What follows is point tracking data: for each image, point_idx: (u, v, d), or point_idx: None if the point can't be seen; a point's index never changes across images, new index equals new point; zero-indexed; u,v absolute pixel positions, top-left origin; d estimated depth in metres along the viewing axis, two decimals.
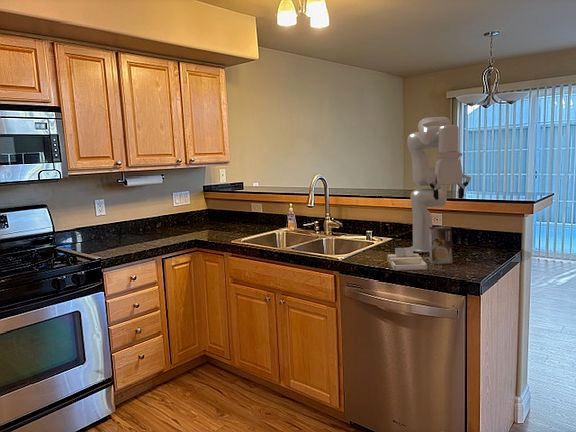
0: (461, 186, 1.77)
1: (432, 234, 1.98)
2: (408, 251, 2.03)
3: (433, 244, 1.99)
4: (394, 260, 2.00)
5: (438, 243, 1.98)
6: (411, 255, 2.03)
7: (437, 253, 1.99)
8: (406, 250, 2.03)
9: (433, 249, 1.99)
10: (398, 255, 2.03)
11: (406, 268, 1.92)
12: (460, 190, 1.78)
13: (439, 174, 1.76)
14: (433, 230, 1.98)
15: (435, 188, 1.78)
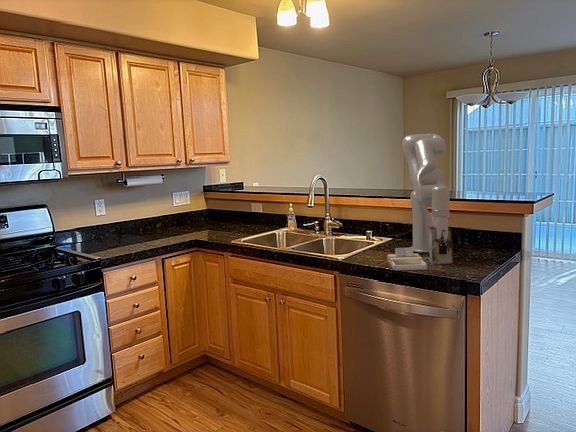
0: None
1: (432, 234, 1.98)
2: (408, 251, 2.03)
3: (433, 244, 1.99)
4: (394, 260, 2.00)
5: (438, 243, 1.98)
6: (411, 255, 2.03)
7: (437, 253, 1.99)
8: (406, 250, 2.03)
9: (433, 249, 1.99)
10: (398, 255, 2.03)
11: (406, 268, 1.92)
12: None
13: None
14: (433, 230, 1.98)
15: None
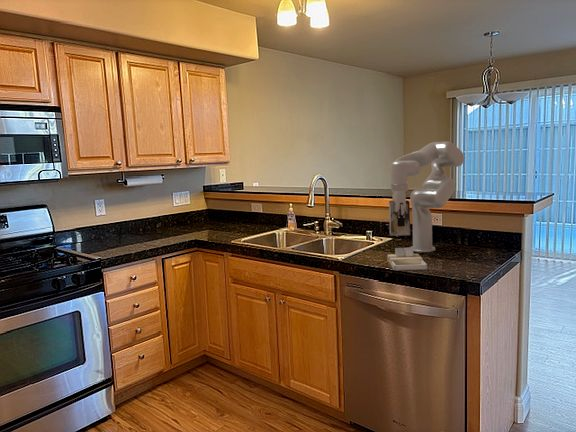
0: None
1: (391, 207, 2.08)
2: (408, 251, 2.03)
3: (392, 217, 2.09)
4: (394, 260, 2.00)
5: (397, 216, 2.08)
6: (411, 255, 2.03)
7: (395, 225, 2.09)
8: (406, 250, 2.03)
9: (392, 221, 2.09)
10: (398, 255, 2.03)
11: (406, 268, 1.92)
12: None
13: (405, 203, 2.06)
14: (392, 203, 2.08)
15: None
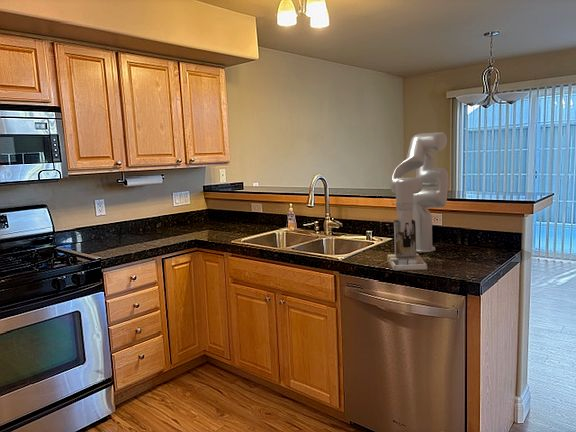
0: None
1: (396, 227, 1.98)
2: None
3: (397, 237, 1.99)
4: (394, 260, 2.00)
5: (402, 236, 1.98)
6: None
7: (401, 246, 1.99)
8: None
9: (397, 242, 1.99)
10: None
11: (406, 268, 1.92)
12: None
13: (411, 223, 1.96)
14: (397, 223, 1.98)
15: None
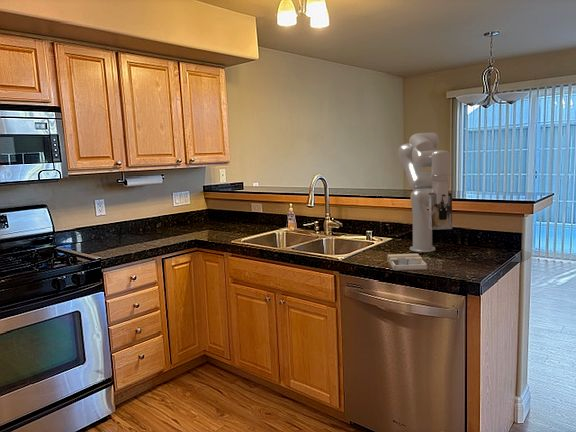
0: None
1: (432, 199, 1.96)
2: None
3: (433, 209, 1.97)
4: (394, 260, 2.00)
5: (438, 208, 1.96)
6: None
7: (437, 219, 1.97)
8: None
9: (433, 214, 1.97)
10: None
11: (406, 268, 1.92)
12: None
13: None
14: (433, 195, 1.96)
15: None
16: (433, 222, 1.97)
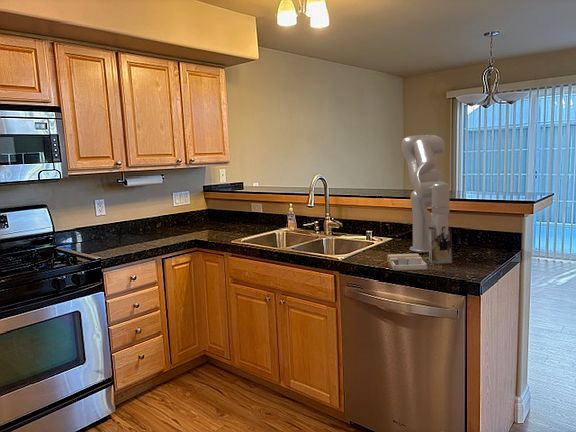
0: None
1: (432, 234, 1.98)
2: None
3: (433, 244, 1.99)
4: (394, 260, 2.00)
5: (438, 243, 1.98)
6: None
7: (437, 253, 1.99)
8: None
9: (433, 249, 1.99)
10: None
11: (406, 268, 1.92)
12: None
13: None
14: (433, 230, 1.98)
15: None
16: (433, 256, 2.00)
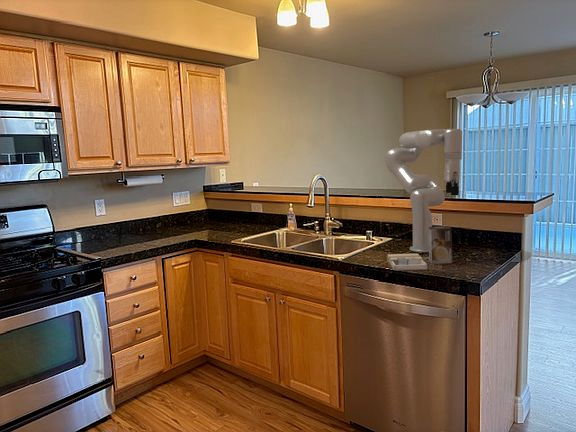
0: (452, 182, 2.08)
1: (432, 234, 1.98)
2: None
3: (433, 244, 1.99)
4: (394, 260, 2.00)
5: (438, 243, 1.98)
6: None
7: (437, 253, 1.99)
8: None
9: (433, 249, 1.99)
10: None
11: (406, 268, 1.92)
12: (451, 185, 2.08)
13: (459, 172, 1.98)
14: (433, 230, 1.98)
15: None
16: (433, 256, 2.00)
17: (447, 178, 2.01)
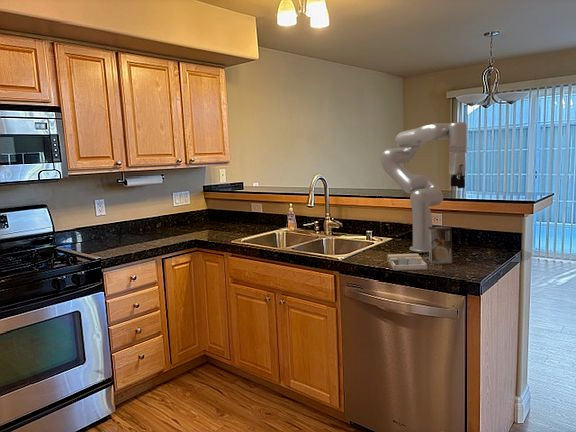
0: (457, 175, 2.09)
1: (432, 234, 1.98)
2: None
3: (433, 244, 1.99)
4: (394, 260, 2.00)
5: (438, 243, 1.98)
6: None
7: (437, 253, 1.99)
8: None
9: (433, 249, 1.99)
10: None
11: (406, 268, 1.92)
12: (456, 179, 2.09)
13: None
14: (433, 230, 1.98)
15: None
16: (433, 256, 2.00)
17: (453, 171, 2.02)
